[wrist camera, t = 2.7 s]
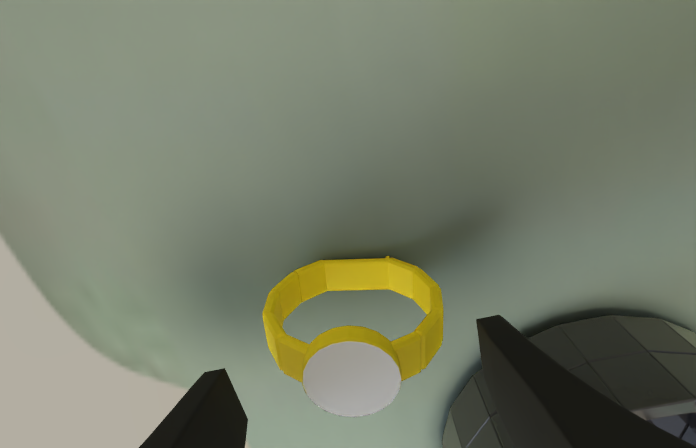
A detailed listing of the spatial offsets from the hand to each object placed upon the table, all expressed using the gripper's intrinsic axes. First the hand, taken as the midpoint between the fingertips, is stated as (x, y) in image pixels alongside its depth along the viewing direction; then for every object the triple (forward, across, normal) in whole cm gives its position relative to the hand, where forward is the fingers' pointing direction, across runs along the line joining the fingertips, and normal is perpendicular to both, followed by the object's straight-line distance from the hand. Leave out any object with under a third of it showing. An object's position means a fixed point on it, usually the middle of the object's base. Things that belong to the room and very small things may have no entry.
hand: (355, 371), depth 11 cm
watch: (+6, 0, 0) cm, 6 cm away
